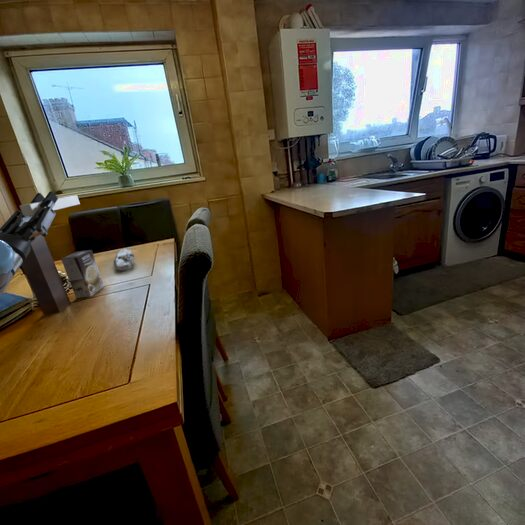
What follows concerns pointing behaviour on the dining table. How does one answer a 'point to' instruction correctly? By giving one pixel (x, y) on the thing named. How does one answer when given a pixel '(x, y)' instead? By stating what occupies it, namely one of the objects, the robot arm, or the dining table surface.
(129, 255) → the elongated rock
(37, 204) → the switch bar
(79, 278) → the coffee box
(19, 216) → the robot arm
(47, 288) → the walnut post
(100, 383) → the dining table surface
